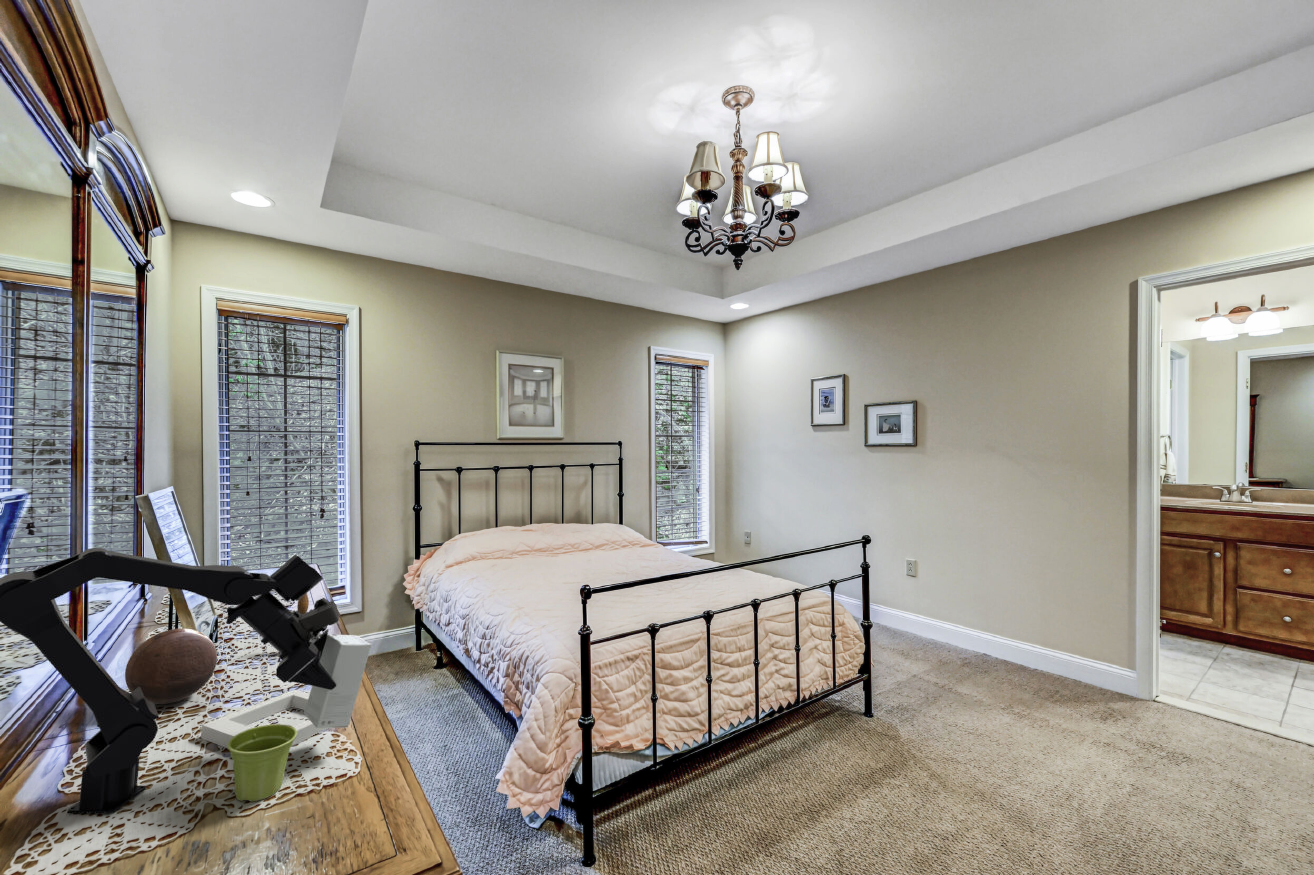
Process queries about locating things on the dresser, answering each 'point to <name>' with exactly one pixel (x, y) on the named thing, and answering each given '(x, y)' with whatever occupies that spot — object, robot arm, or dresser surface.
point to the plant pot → (260, 760)
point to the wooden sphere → (171, 665)
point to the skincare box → (338, 681)
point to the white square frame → (236, 722)
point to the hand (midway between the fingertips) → (336, 677)
